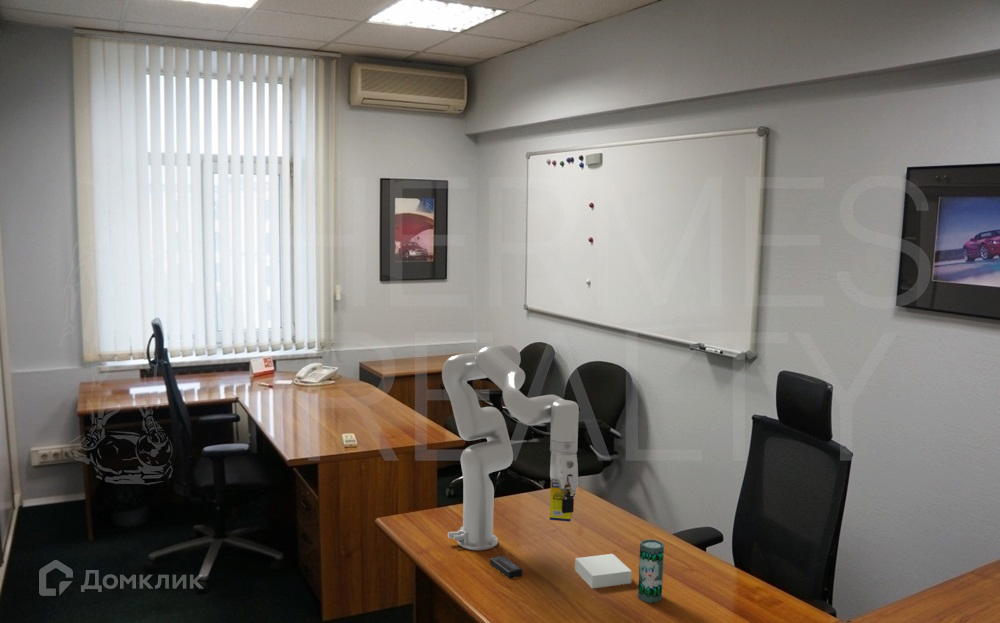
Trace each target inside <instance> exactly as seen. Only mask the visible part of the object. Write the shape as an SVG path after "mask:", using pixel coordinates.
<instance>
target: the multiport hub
mask: <svg viewBox="0 0 1000 623" xmlns="http://www.w3.org/2000/svg"><path fill="white" fill-rule="evenodd" d="M489 564H491V565H492V566H491V565H490V566H491V567H493V568H494V567H495V568H496V569H495V568H494V569H495V570H497V569H498V570H499V571H500V572H499V571H498V570H497V571H498V572H499V573H500V574H502V573H503V574H504V575H503V574H502V575H503V576H505V577H506V576H507V577H508V578H507V577H506V578H507V579H509V580H510V579H514V577H515V578H518V577H522V576H523V568H521V567H520V566H519V565H517V564H516V563H514V562H513V561H511V560H510V559H509V558H507V557H506V556H504V555H497V556H492V557H490V558H489Z"/></svg>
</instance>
